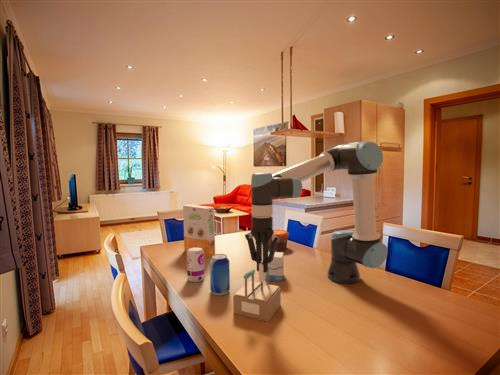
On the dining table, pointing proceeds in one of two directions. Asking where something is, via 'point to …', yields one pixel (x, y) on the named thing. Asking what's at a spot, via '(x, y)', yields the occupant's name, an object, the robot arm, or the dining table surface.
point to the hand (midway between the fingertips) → (262, 280)
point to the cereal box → (199, 228)
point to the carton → (257, 305)
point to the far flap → (248, 285)
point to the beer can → (219, 274)
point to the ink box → (276, 267)
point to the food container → (282, 241)
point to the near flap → (266, 290)
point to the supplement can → (195, 264)
